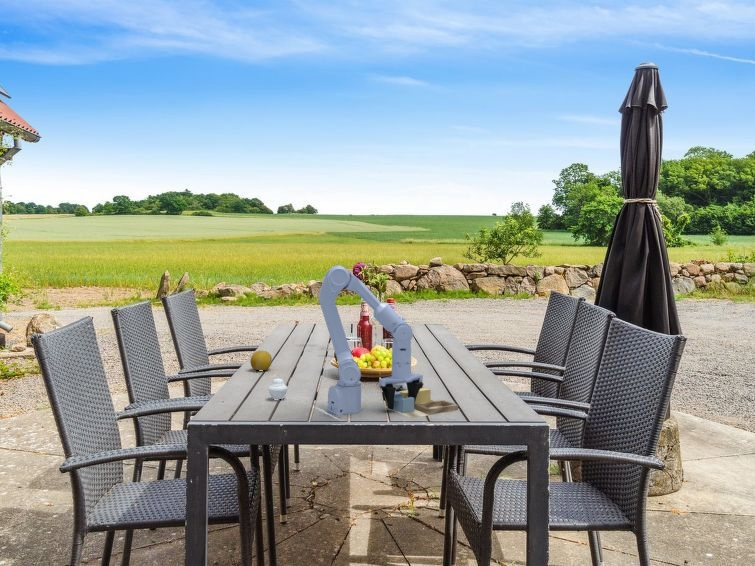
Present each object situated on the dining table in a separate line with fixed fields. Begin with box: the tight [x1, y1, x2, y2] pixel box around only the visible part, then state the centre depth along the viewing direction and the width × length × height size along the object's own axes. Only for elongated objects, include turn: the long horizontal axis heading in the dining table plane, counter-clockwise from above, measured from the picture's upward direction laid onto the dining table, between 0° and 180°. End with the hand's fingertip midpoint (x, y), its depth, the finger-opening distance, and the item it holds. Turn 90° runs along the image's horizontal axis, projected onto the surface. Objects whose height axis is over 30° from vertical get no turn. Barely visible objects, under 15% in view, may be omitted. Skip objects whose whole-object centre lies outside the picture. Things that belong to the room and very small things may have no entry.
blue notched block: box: [393, 393, 414, 413], centre depth 189 cm, size 8×4×4 cm, turn 33°
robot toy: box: [392, 381, 425, 393], centre depth 213 cm, size 12×4×15 cm
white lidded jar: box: [268, 377, 288, 401], centre depth 204 cm, size 6×6×7 cm
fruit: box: [250, 350, 273, 371], centre depth 251 cm, size 9×8×8 cm
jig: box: [381, 399, 460, 419], centre depth 190 cm, size 18×16×2 cm
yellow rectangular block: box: [399, 387, 432, 404], centre depth 196 cm, size 10×3×4 cm, turn 123°
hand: (401, 407), depth 189 cm, fingers open, 7 cm apart
